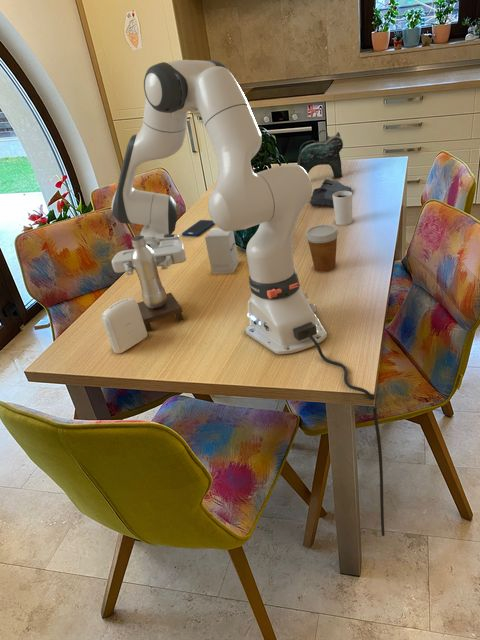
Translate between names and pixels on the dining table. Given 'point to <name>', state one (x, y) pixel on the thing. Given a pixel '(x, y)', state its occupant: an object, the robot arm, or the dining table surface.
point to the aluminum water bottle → (147, 273)
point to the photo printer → (124, 324)
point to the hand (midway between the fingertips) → (146, 269)
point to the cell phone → (198, 228)
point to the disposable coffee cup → (323, 246)
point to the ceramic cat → (322, 154)
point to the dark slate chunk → (327, 193)
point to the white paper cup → (343, 207)
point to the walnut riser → (160, 311)
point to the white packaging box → (221, 251)
